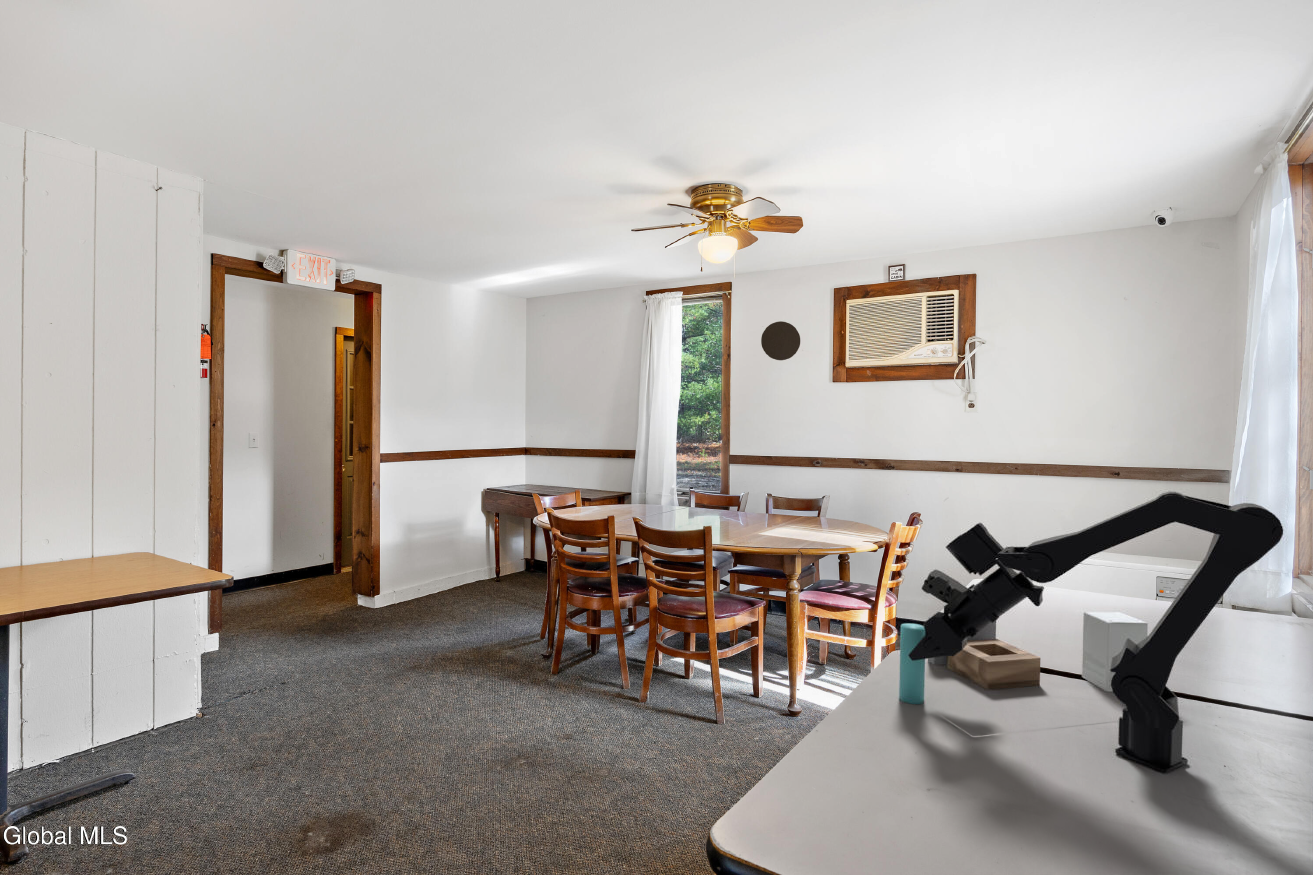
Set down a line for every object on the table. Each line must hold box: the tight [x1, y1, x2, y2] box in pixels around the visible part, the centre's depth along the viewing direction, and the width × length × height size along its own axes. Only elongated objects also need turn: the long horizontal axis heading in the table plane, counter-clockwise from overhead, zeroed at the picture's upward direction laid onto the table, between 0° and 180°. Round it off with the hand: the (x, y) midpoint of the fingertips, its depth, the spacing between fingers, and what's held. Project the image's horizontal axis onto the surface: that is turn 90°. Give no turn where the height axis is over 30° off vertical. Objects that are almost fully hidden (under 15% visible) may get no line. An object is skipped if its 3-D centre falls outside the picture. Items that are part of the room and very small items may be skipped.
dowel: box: [898, 623, 926, 705], centre depth 116 cm, size 4×4×12 cm
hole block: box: [946, 638, 1041, 691], centre depth 127 cm, size 11×11×5 cm
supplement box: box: [1081, 611, 1149, 692], centre depth 124 cm, size 7×7×13 cm
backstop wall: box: [927, 616, 997, 666], centre depth 135 cm, size 2×14×9 cm, turn 104°
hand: (918, 650), depth 115 cm, fingers open, 9 cm apart
